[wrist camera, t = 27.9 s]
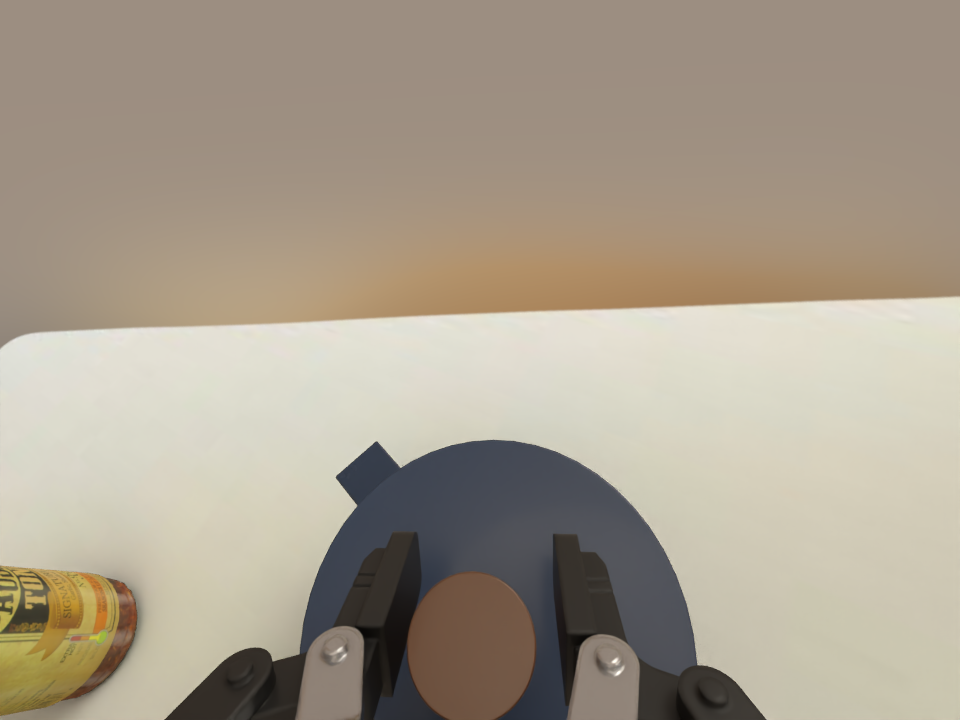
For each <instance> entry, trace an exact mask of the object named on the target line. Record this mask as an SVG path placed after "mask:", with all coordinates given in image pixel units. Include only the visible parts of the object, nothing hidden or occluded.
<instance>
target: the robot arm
mask: <svg viewBox="0 0 960 720" xmlns="http://www.w3.org/2000/svg"><path fill="white" fill-rule="evenodd" d="M421 579H422V572H421V561H420V550H419V540H418V534H417V532H412V531H394V532H393V533H392V535H391V537H390V539H389V542H388V544H387V547H386V548H375V549H374V550H373V551H372V552H371V553H370V554H369V555H368V556H367V557H366V558H365V559H364V560H363V563H362V565H361V567H360V569H359V571H358V575H357V576H356V578H355V580H354V582H353V586H352V587H351V589H350V591H349V593H348V595H347V597H346V599H345V602H344V604H343V606H342V608H341V610H340V613H339V615H338V617H337V619H336V621H335V623H334V626H333V628H332V629H330V630H327V631H326V632H324V633H322V634H321V635H320V636H319V637H317V638H316V639H315V640H314V642H313V643H312V644H311V646H310V647H309V650H308V651H307V652H305V653H303V654H300V655H296V656H293V657H289V658H285V659H281V660H277V661H274V662H272V658H271V655H270V653H269V652H268V651H267V650H265V649H262V648H248V649H244V650H242V651H239V652H237V653H235V654H233V655H231V656H230V657H228V658H227V659H226V660H224V661H223V662H222V663H221V664H220V665H219V666H218V667H217V668H216V669H215V670H214V671H213V672H212V673H211V674H210V675H209V676H208V677H207V678H206V679H205V680H204V681H203V682H202V683H201V684H200V685H199V686H198V687H197V688H196V689H195V690H194V691H193V692H192V693H191V694H190V695H189V696H188V697H187V698H186V699H185V700H184V701H183V702H182V703H181V704H180V705H179V706H178V707H177V708H176V709H175V710H174V711H173V712H172V713H171V714H170V715H169V716H168V717H167V718H166V719H165V720H375V712H376V709H377V706H378V702H379V699H380V697H393V693H394V689H395V686H396V682H397V678H398V674H399V670H400V667H401V663H402V659H403V655H404V651H405V648H406V644H407V638H408V631H409V627H410V623H411V620H412V617H413V615H414V612H415V610H416V606H417V602H418V598H419V594H420V589H421ZM553 592H554V603H555V612H556V622H557V631H558V640H559V650H560V659H561V669H562V678H563V688H564V697H565V706H569V710H568V715H567V720H766V719H765V717H764V716H763V715H762V714H761V713H760V711H759V710H758V709H757V708H756V706H755V705H754V704H753V703H752V701H751V700H750V699H749V698H748V696H747V695H746V694H745V693H744V692H743V690H742V689H741V688H740V687H739V686H738V684H737V683H736V682H735V681H734V680H732V679H731V678H730V677H729V676H727V675H726V674H724V673H723V672H721V671H719V670H717V669H714V668H711V667H708V666H702V665H696V666H691V667H688V668H686V669H685V670H684V671H683V672H682V673H681V674H680V676H677V675H674V674H671V673H668V672H665V671H662V670H659V669H657V668H654V667H652V666H650V665H648V664H647V663H645V662H644V661H642V660H641V659H640V658H639V657H638V656H637V655H636V654H635V652H634V651H633V649H632V648H631V647H630V646H629V644H628V642H627V639H626V636H625V632H624V629H623V625H622V621H621V618H620V614H619V610H618V607H617V603H616V599H615V596H614V594H613V588H612V585H611V582H610V577H609V574H608V570H607V566H606V564H605V563H604V562H603V560H602V559H601V558H600V557H599V556H598V554H597V553H596V552H581V550H580V546H579V541H578V536H577V534H553Z"/></svg>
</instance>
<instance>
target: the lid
mask: <svg viewBox="0 0 960 720" xmlns="http://www.w3.org/2000/svg"><path fill="white" fill-rule="evenodd" d="M394 531H412V532H417V534H418V540H419V550H420V561H421V572H422V579H421V589H420V594H419V598H418V602H417V606H416V610H415V612H414V615H413V617H412V620H411V623H410V627H409V631H408V638H407V644H406V648H405V651H404V655H403V659H402V663H401V667H400V670H399V674H398V678H397V682H396V686H395V689H394V693H393V697H380V699H379V702H378V706H377V709H376V712H375V720H567V715H568V710H569V706H565V697H564V688H563V678H562V669H561V659H560V650H559V640H558V631H557V622H556V612H555V603H554V592H553V534H577V536H578V541H579V546H580V550H581V552H596V553H597V554H598V556H599V557H600V558H601V559H602V560H603V562H604V563H605V564H606V566H607V570H608V574H609V577H610V582H611V585H612V588H613V594H614V596H615V599H616V603H617V607H618V610H619V614H620V618H621V621H622V625H623V629H624V632H625V636H626V639H627V642H628V644H629V646H630V647H631V648H632V649H633V651H634V652H635V654H636V655H637V656H638V657H639V658H640V659H641V660H642V661H644V662H645V663H647V664H648V665H650V666H652V667H654V668H657V669H659V670H662V671H665V672H668V673H671V674H674V675H677V676H680V674H681V673H682V672H683V671H684V670H685V669H686V668H688V667H691V666H696V665H697V659H696V651H695V642H694V634H693V630H692V626H691V621H690V617H689V613H688V608H687V604H686V601H685V599H684V596H683V593H682V590H681V587H680V584H679V582H678V579H677V576H676V574H675V572H674V570H673V568H672V566H671V564H670V561H669V559H668V557H667V555H666V553H665V551H664V549H663V548H662V546H661V545H660V543H659V541H658V540H657V538H656V537H655V535H654V533H653V532H652V530H651V529H650V527H649V526H648V524H647V523H646V522H645V521H644V519H643V518H642V517H641V516H640V514H639V513H638V512H637V511H636V509H635V508H634V507H633V506H632V505H631V504H630V503H629V502H628V501H627V500H626V499H625V498H624V497H623V496H622V495H621V494H620V493H619V492H618V491H617V490H616V489H615V488H614V487H613V486H612V485H610V484H609V483H608V482H607V481H605V480H604V479H603V478H601V477H600V476H599V475H598V474H596V473H595V472H593V471H592V470H590V469H588V468H587V467H585V466H583V465H582V464H580V463H579V462H577V461H575V460H573V459H571V458H568V457H566V456H564V455H562V454H560V453H558V452H555V451H552V450H549V449H546V448H543V447H540V446H536V445H532V444H527V443H521V442H516V441H503V440H485V441H472V442H466V443H461V444H456V445H451V446H448V447H445V448H442V449H439V450H436V451H433V452H430V453H428V454H426V455H424V456H422V457H420V458H418V459H416V460H413V461H412V462H410V463H408V464H407V465H405V466H404V467H402V468H400V469H399V470H397V471H396V472H394V473H393V474H391V475H390V476H389V477H388V478H386V479H385V480H384V481H383V482H381V483H380V484H379V485H378V486H377V487H375V488H374V489H373V490H372V491H371V492H370V493H369V494H368V495H367V496H366V498H365V499H364V500H363V501H362V502H361V503H360V504H359V505H358V506H357V507H356V509H355V510H354V511H353V512H352V514H351V515H350V516H349V518H348V519H347V520H346V521H345V523H344V524H343V526H342V527H341V529H340V531H339V532H338V534H337V535H336V537H335V539H334V540H333V542H332V544H331V545H330V547H329V549H328V552H327V554H326V556H325V558H324V560H323V562H322V564H321V566H320V568H319V571H318V574H317V577H316V579H315V582H314V585H313V588H312V591H311V593H310V597H309V602H308V606H307V610H306V614H305V618H304V623H303V630H302V638H301V645H300V654H303V653H305V652H307V651H308V650H309V647H310V646H311V644H312V643H313V642H314V640H315V639H316V638H317V637H319V636H320V635H321V634H322V633H324V632H326V631H327V630H330V629H332V628H333V626H334V623H335V621H336V619H337V617H338V615H339V613H340V610H341V608H342V606H343V604H344V602H345V599H346V597H347V595H348V593H349V591H350V589H351V587H352V586H353V582H354V580H355V578H356V576H357V575H358V571H359V569H360V567H361V565H362V563H363V560H364V559H365V558H366V557H367V556H368V555H369V554H370V553H371V552H372V551H373V550H374V549H375V548H386V547H387V544H388V542H389V539H390V537H391V535H392V533H393V532H394Z"/></svg>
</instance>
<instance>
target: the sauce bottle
mask: <svg viewBox="0 0 960 720" xmlns="http://www.w3.org/2000/svg"><path fill="white" fill-rule="evenodd" d="M136 625H137V610H136V603H135V599H134V597H133V595H132V592H131V590H129V589H128V588H127V586H126V585H125V584H124V583H121V582H119V581H117V580H112V579H108V578H104V577H102V576H100V575H97V574H91V573H79V572H67V571H56V570H44V569H31V568H18V567H9V566H0V716H2V715H8V714H13V713H18V712H23V711H28V710H33V709H39V708H45V707H48V706H51V705H53V704H55V703H57V702H59V701H62V700H66V699H70V698H76V697H79V696H81V695H83V694H85V693H88V692H90V691H91V690H92V689H94V688H95V687H96V686H98V685H99V684H101V683H102V682H103V681H104V680H105V679H106V678H107V677H108V676H109V675H110V674H111V673H112V672H113V671H115V669H116V667H117V666H118V664H119V663H120V662H121V661H122V659H123V658H124V656H125V654H126V652H127V650H128V649H129V647H130V645H131V643H132V641H133V638H134V635H135V630H136Z"/></svg>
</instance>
